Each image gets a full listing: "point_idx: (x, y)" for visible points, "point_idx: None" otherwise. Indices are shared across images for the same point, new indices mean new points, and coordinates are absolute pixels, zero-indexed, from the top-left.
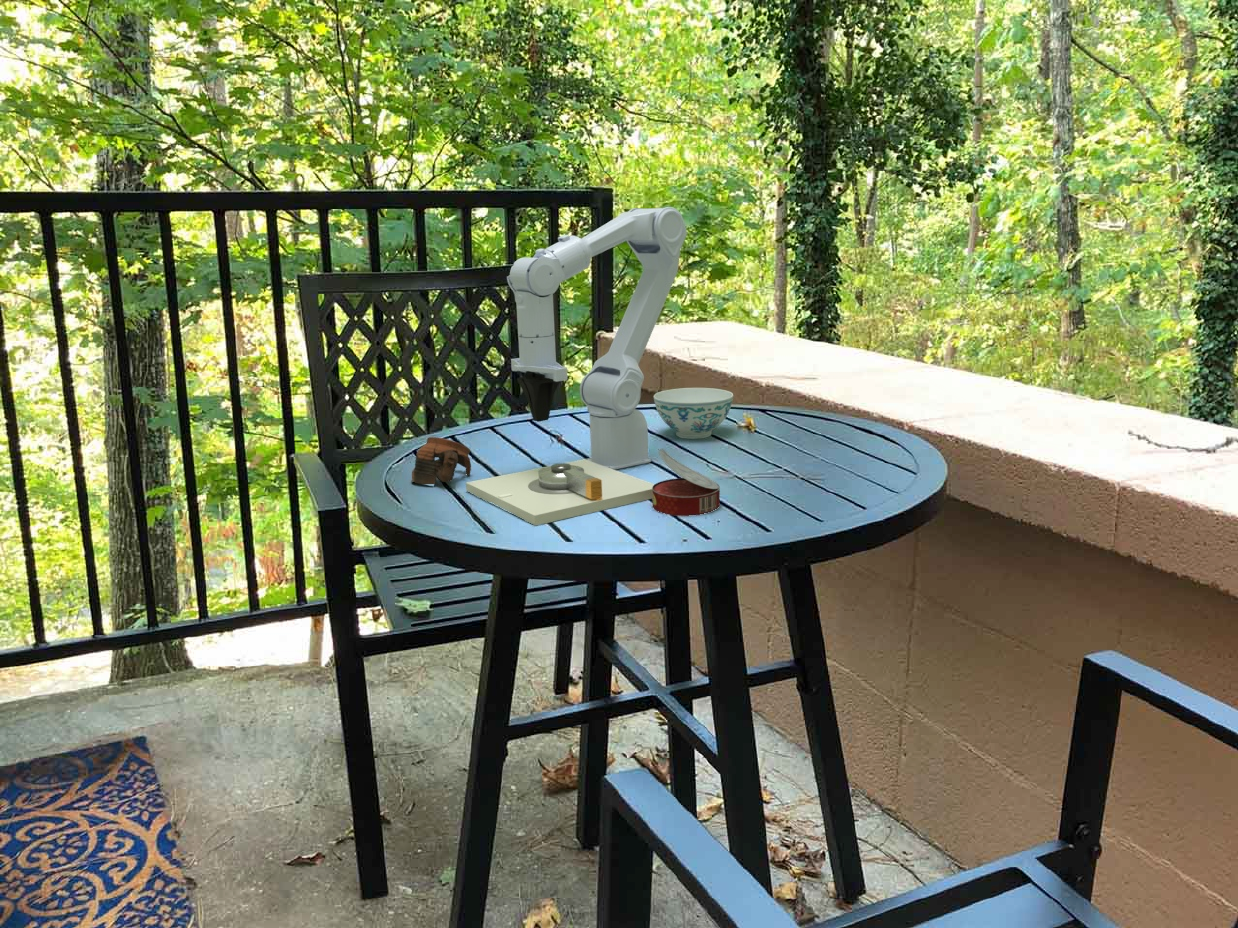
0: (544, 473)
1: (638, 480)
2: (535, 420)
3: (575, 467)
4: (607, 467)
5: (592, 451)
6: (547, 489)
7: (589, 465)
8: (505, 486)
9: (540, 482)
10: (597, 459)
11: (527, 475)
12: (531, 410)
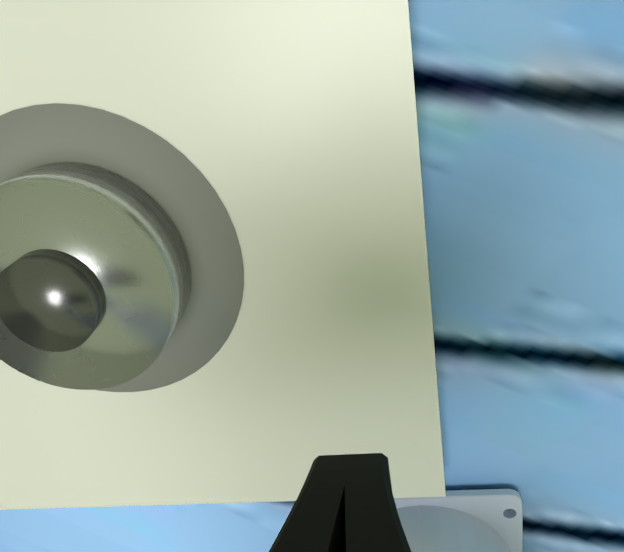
0: (35, 206)
1: (39, 496)
2: (346, 457)
3: (94, 369)
4: (265, 501)
5: (441, 549)
6: None
7: None
8: (172, 3)
9: (55, 168)
10: (403, 526)
11: (327, 193)
12: (369, 512)
